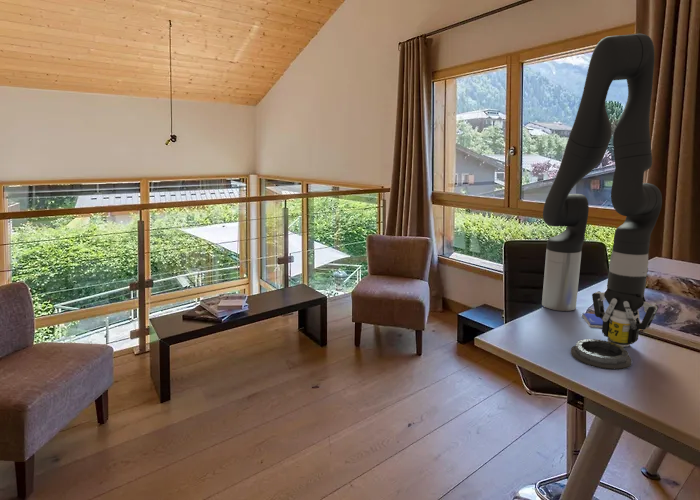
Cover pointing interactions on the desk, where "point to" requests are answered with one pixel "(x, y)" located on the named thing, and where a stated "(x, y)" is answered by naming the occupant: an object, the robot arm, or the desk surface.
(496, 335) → the desk surface
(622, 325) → the supplement bottle
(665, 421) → the desk surface
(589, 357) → the grey flat ring
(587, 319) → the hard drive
